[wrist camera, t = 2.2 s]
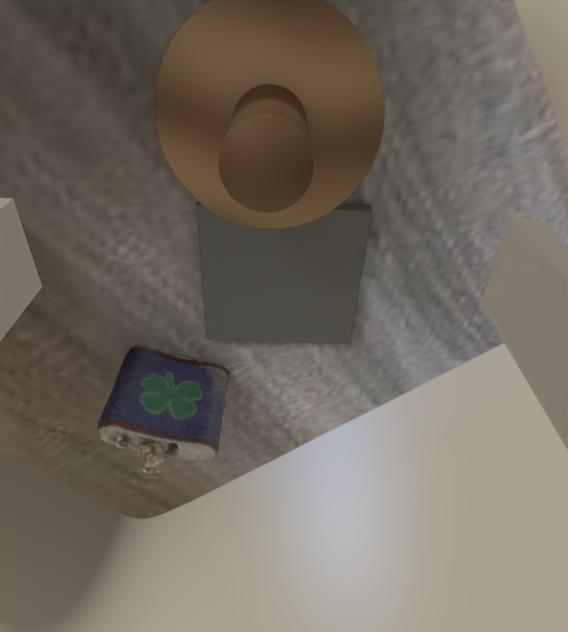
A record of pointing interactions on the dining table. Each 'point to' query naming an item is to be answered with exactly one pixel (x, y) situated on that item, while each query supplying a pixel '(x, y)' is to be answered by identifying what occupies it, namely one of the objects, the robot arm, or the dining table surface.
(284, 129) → the lid
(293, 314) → the mat
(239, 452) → the dining table surface
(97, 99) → the dining table surface
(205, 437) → the flask
